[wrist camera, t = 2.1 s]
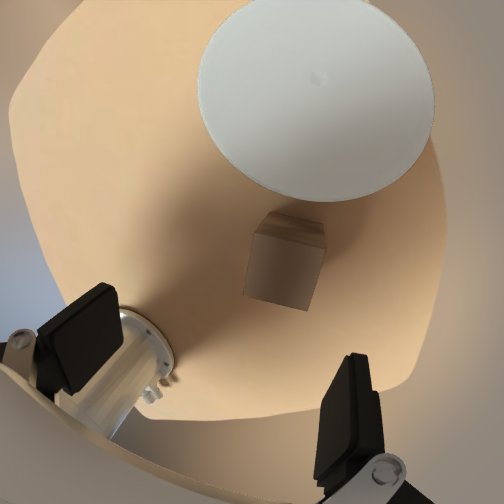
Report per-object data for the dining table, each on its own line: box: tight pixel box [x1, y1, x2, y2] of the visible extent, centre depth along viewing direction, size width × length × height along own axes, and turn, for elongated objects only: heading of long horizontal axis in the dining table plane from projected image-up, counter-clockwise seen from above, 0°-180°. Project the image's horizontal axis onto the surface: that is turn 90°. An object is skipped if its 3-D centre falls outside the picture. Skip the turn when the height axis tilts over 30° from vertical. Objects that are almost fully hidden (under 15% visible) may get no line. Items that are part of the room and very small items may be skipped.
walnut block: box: [243, 212, 326, 311], centre depth 22 cm, size 5×5×7 cm
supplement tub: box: [197, 0, 435, 202], centre depth 15 cm, size 10×10×15 cm
